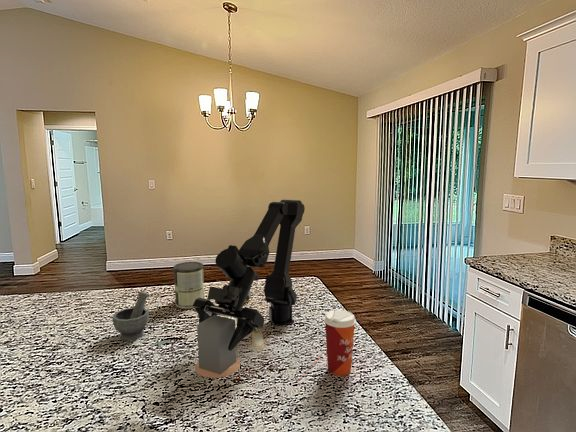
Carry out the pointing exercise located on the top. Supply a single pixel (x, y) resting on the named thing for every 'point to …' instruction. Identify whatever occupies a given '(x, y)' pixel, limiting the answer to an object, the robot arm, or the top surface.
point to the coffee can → (188, 283)
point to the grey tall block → (216, 344)
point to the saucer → (215, 375)
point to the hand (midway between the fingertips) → (213, 345)
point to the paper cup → (339, 341)
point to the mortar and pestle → (132, 319)
